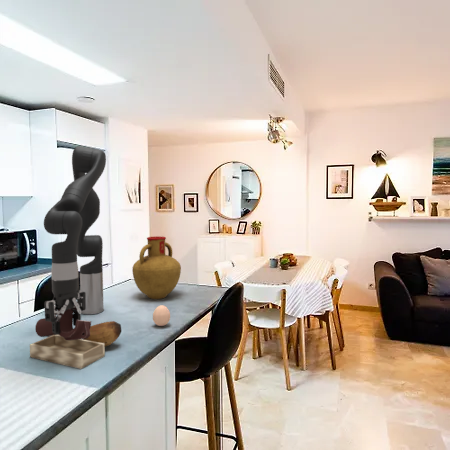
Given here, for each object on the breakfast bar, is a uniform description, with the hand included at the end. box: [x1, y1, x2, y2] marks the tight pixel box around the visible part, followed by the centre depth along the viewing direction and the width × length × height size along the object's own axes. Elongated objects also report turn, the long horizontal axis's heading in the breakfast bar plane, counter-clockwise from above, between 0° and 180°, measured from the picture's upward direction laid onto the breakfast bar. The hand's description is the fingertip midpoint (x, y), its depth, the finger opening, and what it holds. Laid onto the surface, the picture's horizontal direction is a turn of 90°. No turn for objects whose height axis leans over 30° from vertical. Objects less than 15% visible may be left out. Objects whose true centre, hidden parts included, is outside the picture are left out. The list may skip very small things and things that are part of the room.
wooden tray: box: [29, 335, 106, 370], centre depth 114 cm, size 21×10×4 cm, turn 67°
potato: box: [83, 320, 122, 348], centre depth 122 cm, size 8×14×8 cm
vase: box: [131, 235, 182, 300], centre depth 185 cm, size 24×24×30 cm
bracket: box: [35, 309, 92, 340], centre depth 114 cm, size 6×17×10 cm, turn 76°
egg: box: [152, 304, 171, 327], centre depth 142 cm, size 7×7×8 cm
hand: (66, 329), depth 114 cm, fingers closed on bracket, 7 cm apart
